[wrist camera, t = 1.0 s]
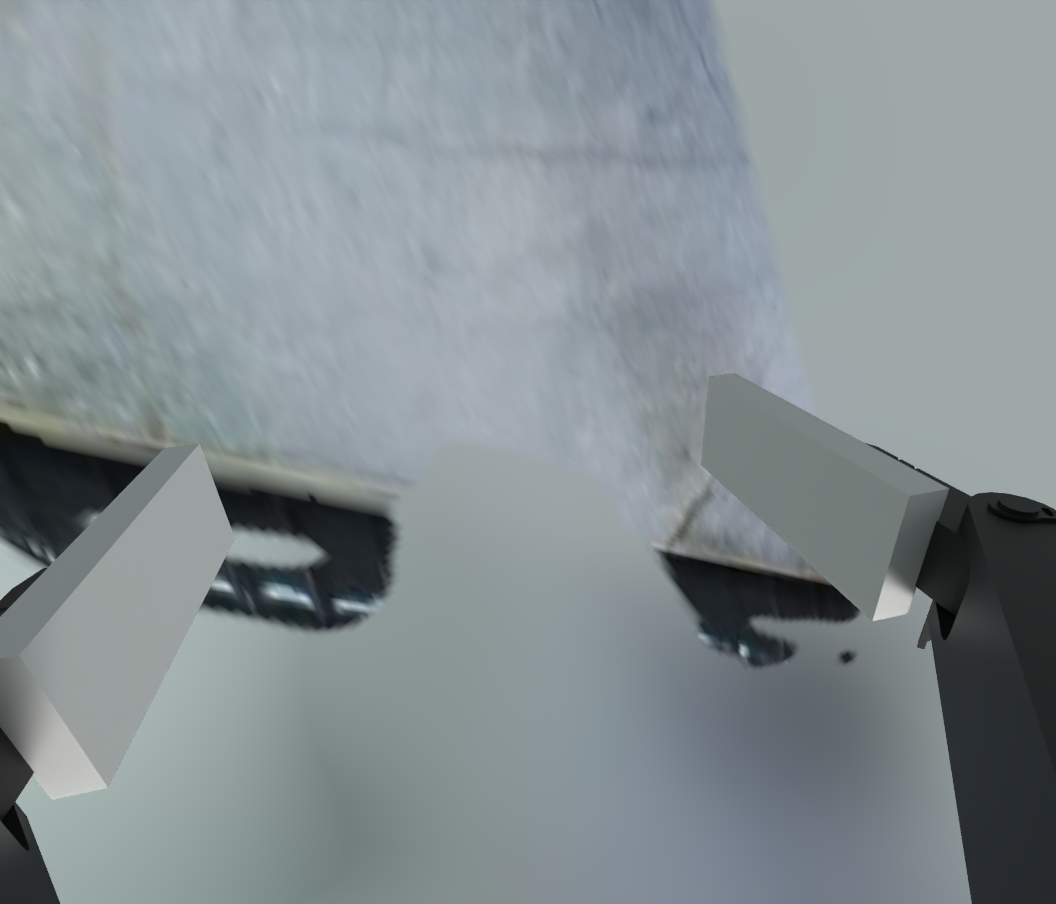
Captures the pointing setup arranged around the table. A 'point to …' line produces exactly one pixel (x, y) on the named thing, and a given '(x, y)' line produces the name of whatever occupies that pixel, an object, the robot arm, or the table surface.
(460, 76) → the table surface
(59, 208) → the table surface
